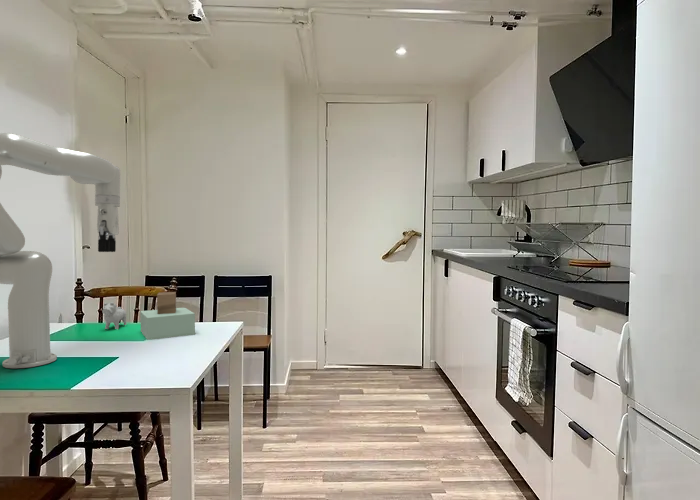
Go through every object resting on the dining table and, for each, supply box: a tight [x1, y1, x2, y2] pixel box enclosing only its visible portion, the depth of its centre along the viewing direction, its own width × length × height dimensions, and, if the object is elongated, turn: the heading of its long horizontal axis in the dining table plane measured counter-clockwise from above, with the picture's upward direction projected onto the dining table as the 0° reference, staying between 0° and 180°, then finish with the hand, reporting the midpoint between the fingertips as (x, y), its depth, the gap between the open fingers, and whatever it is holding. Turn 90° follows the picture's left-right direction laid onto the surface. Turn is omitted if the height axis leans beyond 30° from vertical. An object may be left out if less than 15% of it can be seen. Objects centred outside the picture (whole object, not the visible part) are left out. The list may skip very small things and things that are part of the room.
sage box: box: [139, 307, 196, 341], centre depth 168 cm, size 16×16×8 cm
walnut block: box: [156, 291, 177, 314], centre depth 168 cm, size 6×6×7 cm
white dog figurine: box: [101, 301, 128, 330], centre depth 177 cm, size 5×13×11 cm, turn 2°
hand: (107, 251), depth 156 cm, fingers open, 9 cm apart
